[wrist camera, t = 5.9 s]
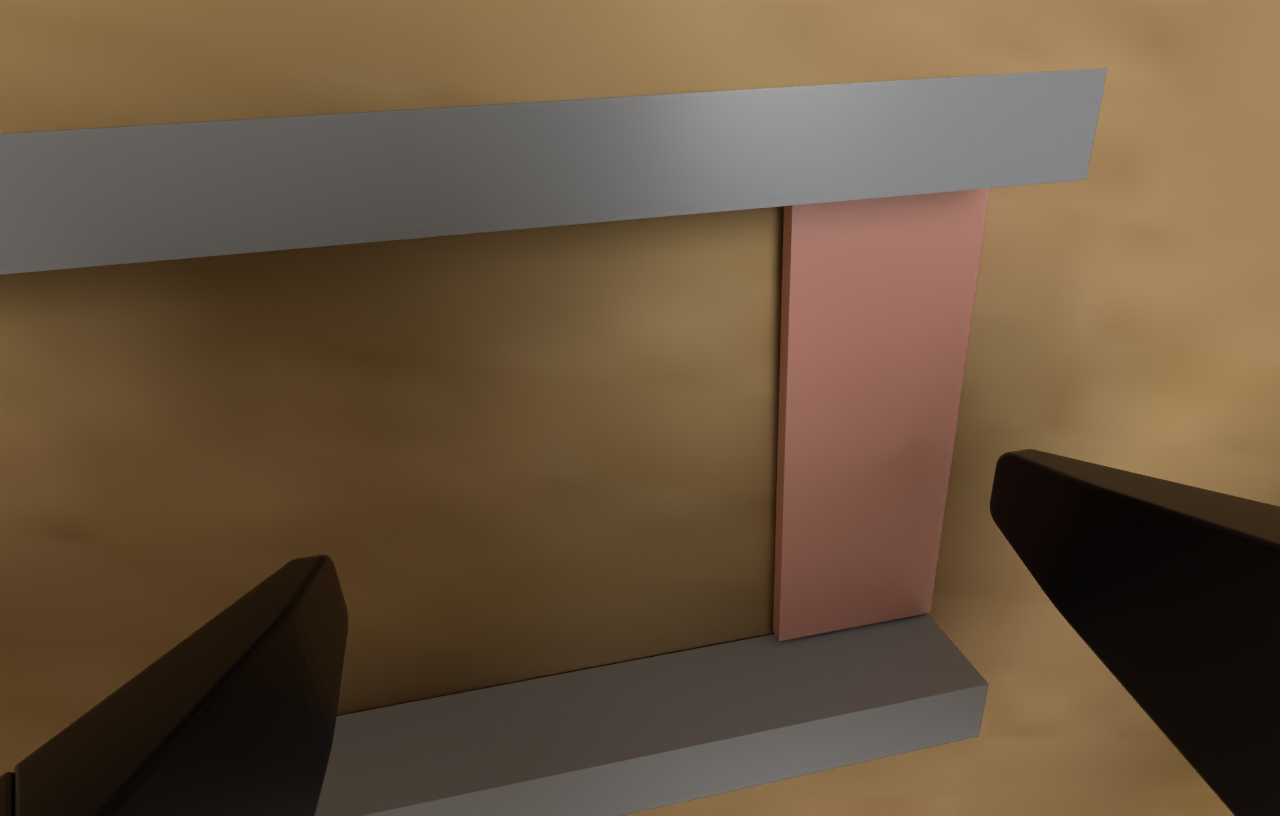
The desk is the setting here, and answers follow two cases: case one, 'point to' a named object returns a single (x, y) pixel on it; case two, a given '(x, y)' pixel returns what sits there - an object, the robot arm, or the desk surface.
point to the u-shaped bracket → (808, 389)
